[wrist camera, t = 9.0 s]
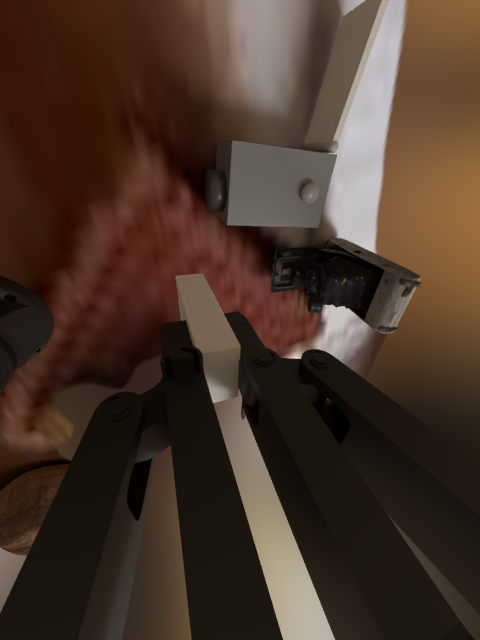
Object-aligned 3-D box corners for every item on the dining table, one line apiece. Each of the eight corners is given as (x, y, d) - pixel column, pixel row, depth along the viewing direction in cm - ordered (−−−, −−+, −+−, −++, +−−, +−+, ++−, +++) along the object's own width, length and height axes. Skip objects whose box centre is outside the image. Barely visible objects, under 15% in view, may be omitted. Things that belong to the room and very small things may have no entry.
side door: (341, 16, 29) (386, -17, 24) (353, 24, 30) (400, -6, 24) (300, 151, 36) (328, 151, 30) (311, 155, 37) (340, 155, 31)
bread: (-32, 487, 55) (-74, 564, 45) (89, 445, 59) (76, 507, 49) (40, 519, 71) (21, 582, 60) (132, 484, 75) (128, 537, 64)
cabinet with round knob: (201, 212, 37) (213, 226, 30) (202, 140, 32) (216, 137, 25) (293, 216, 42) (321, 229, 35) (305, 154, 37) (341, 154, 30)
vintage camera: (268, 238, 43) (328, 289, 28) (342, 235, 47) (432, 279, 31) (263, 285, 49) (310, 351, 33) (329, 280, 52) (400, 336, 37)
